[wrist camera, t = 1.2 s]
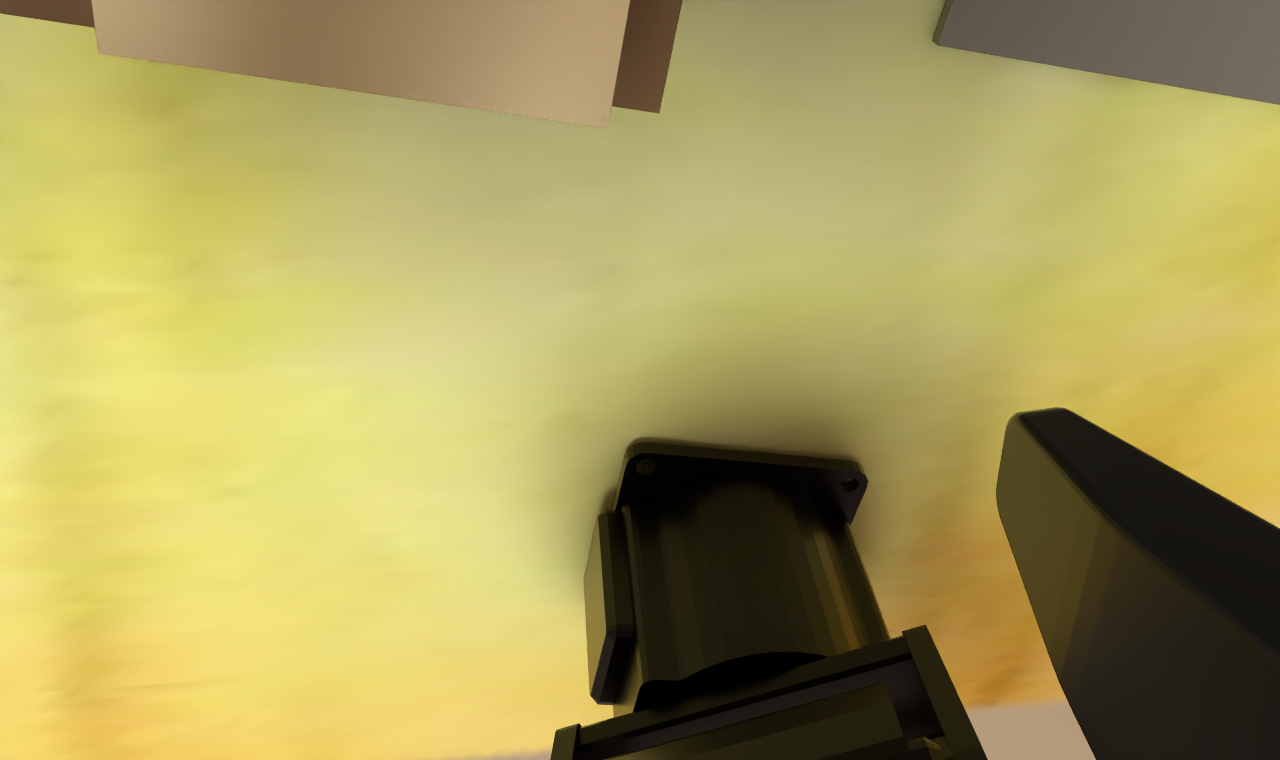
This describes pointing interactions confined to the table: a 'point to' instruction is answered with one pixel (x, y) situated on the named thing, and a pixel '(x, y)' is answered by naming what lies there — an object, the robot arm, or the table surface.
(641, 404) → the table surface
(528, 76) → the tan rectangular block
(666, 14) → the toolbox
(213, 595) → the table surface
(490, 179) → the table surface
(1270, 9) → the lid mat
